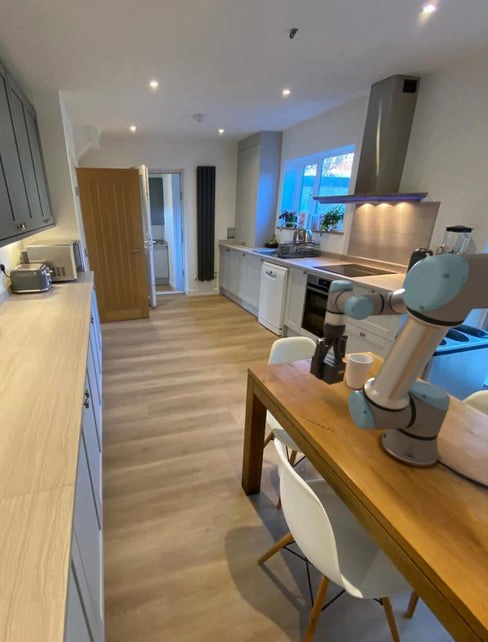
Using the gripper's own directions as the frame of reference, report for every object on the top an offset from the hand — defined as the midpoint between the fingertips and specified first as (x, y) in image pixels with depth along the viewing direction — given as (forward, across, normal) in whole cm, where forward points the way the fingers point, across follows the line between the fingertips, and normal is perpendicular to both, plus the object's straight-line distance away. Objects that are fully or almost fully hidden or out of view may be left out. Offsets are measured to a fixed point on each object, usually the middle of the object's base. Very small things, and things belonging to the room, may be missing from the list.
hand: (325, 376), depth 130 cm
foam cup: (+9, -18, 0) cm, 20 cm away
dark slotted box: (0, 0, +1) cm, 1 cm away
